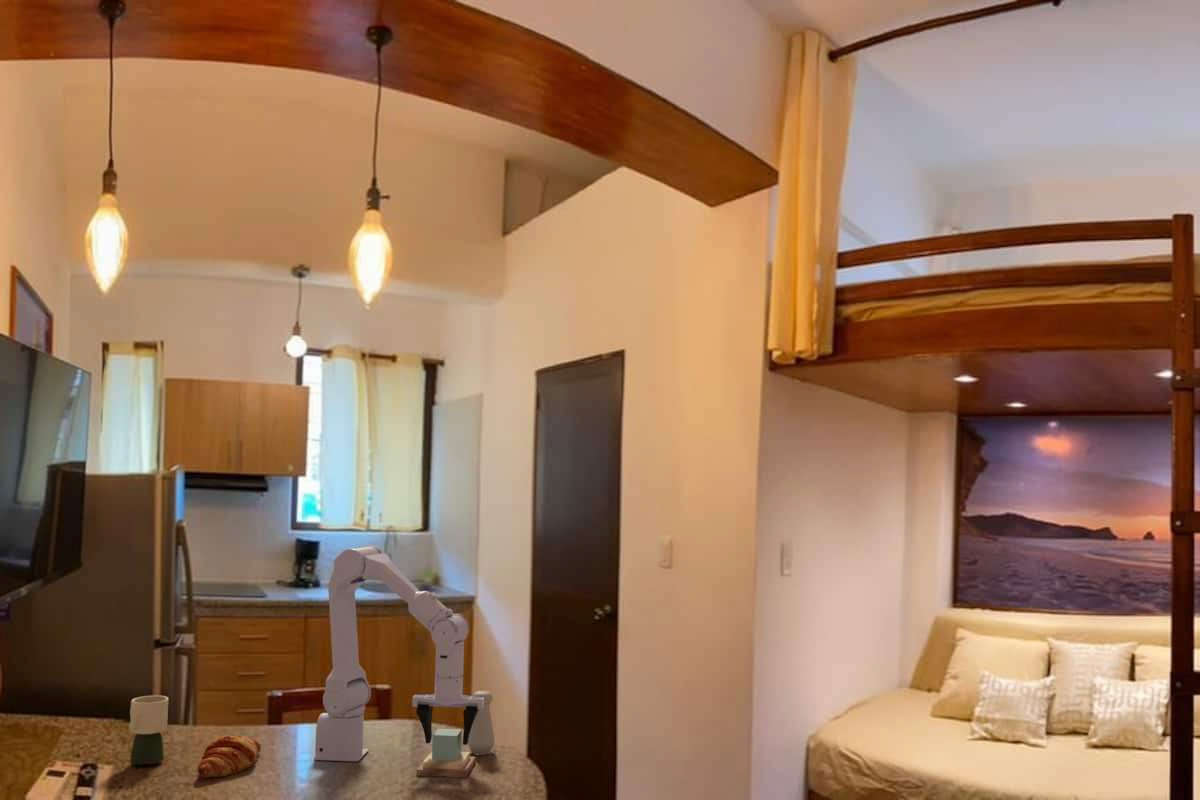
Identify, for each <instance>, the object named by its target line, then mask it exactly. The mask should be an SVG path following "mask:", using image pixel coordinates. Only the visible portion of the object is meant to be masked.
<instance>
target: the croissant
mask: <svg viewBox="0 0 1200 800" xmlns="http://www.w3.org/2000/svg"><path fill="white" fill-rule="evenodd" d="M261 749H262V743H261V741H260V740H256V739H254V738H253V737H246V736H243V735H224V736H221V737H218V738H216V739H214V740H213V741H211V743H209V744H208V745H207V746H206V748H205V750H204V752H203V756H202V757H201V761H200V762H199V764H198V766H197V771H198V775H200V776H202V777H203V778H213V777H214V778H221V777H227V776H228V775H229V776H230V775H234V774H237V772H238V773H240V772H243V770H246V769H248V768H250V767H251V766H253V765H254V764H255V763H256V762H257V760H258V758H259V754H260V752H261Z"/></svg>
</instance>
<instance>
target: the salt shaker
mask: <svg viewBox="0 0 1200 800" xmlns="http://www.w3.org/2000/svg"><path fill="white" fill-rule="evenodd" d="M472 696H473V697H484V707H483V709H479V710H478V712H477V715H476V717H475V719H474V722H473V724H472V727H471V731H470V734H469V740H468V743H467V746H468V748H469V750H470V751H469V752H470V753H471V752H472V753H473V754H478V755H484V756H486V755H485V754H489V755H490V754H491V752H492V750H493V748H494V746H495V743H496V740H495V735H494V729H493V728H494V727H493V722H492V715H491V714H492V713H491V706H490V704H491V703H492V702H493V693H492V692H491V691H487V690H478V691H475V692H474V693H473V694H472ZM472 753H471V754H472ZM473 754H472V755H473ZM478 755H477V756H478Z"/></svg>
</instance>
